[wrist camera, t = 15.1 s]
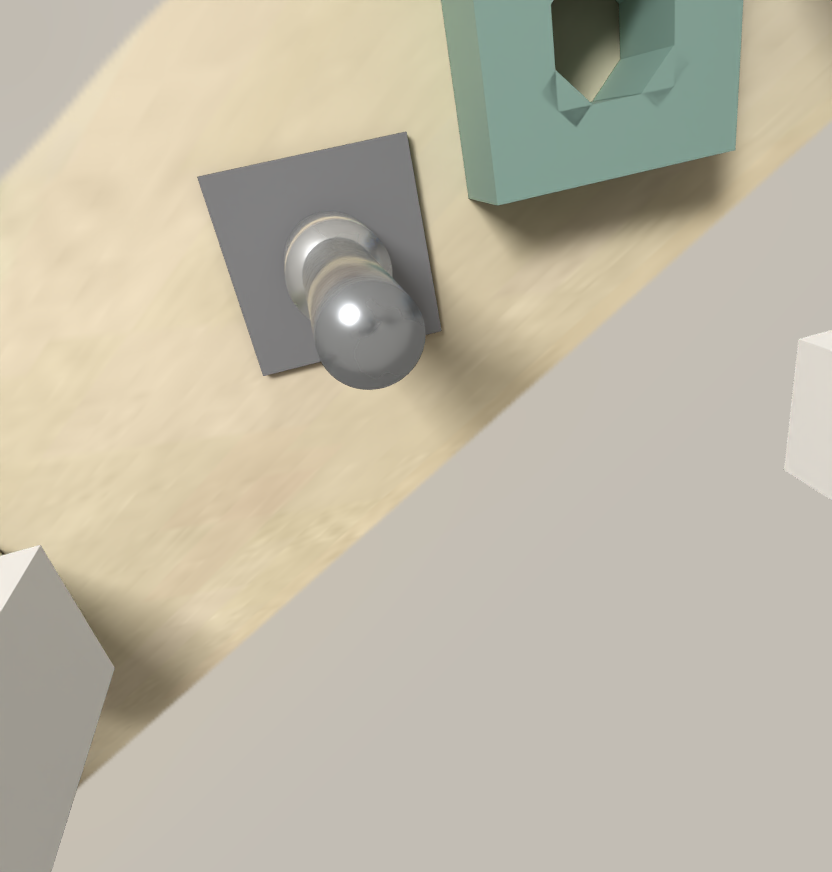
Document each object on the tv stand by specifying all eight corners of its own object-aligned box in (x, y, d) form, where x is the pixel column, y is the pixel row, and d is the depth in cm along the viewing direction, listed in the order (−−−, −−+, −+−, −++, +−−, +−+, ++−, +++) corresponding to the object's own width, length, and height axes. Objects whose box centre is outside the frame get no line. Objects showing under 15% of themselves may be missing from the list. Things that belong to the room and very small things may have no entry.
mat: (404, 132, 32) (406, 131, 31) (439, 328, 37) (441, 330, 36) (198, 176, 31) (197, 176, 30) (263, 372, 36) (263, 376, 35)
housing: (681, -138, 29) (753, -189, 25) (677, 150, 35) (735, 150, 31) (428, -93, 28) (456, -138, 24) (468, 198, 34) (497, 205, 30)
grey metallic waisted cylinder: (366, 201, 32) (433, 236, 18) (386, 294, 35) (460, 389, 21) (271, 222, 32) (267, 276, 18) (299, 316, 34) (314, 428, 20)
